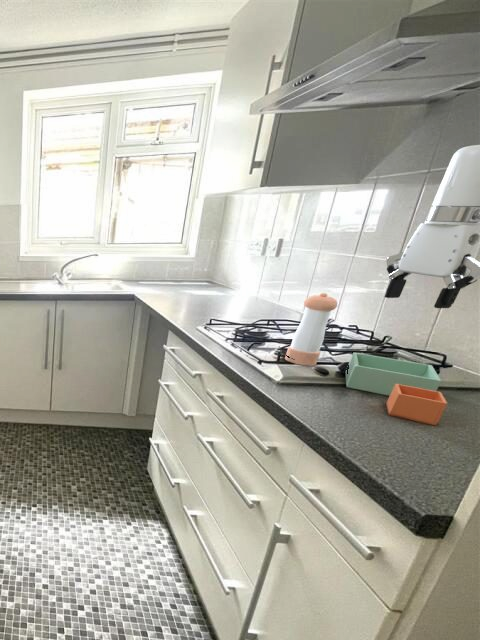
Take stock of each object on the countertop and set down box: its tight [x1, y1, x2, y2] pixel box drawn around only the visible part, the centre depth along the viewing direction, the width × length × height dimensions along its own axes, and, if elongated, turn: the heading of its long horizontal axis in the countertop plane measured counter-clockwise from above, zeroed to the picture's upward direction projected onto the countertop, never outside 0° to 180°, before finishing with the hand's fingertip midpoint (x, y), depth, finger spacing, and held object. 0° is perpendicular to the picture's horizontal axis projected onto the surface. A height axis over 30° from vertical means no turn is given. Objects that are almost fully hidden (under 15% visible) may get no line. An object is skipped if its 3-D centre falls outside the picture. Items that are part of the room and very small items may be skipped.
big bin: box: [345, 352, 442, 397], centre depth 100 cm, size 14×12×6 cm
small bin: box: [385, 384, 448, 426], centre depth 87 cm, size 7×7×5 cm
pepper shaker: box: [284, 292, 338, 367], centre depth 114 cm, size 7×7×19 cm
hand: (415, 302), depth 89 cm, fingers open, 9 cm apart
